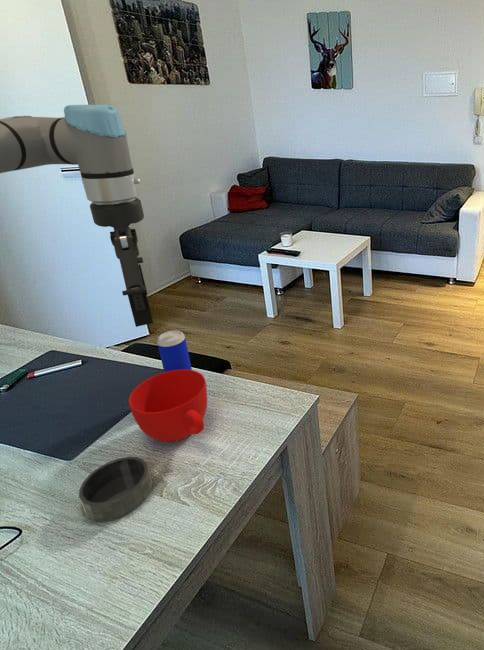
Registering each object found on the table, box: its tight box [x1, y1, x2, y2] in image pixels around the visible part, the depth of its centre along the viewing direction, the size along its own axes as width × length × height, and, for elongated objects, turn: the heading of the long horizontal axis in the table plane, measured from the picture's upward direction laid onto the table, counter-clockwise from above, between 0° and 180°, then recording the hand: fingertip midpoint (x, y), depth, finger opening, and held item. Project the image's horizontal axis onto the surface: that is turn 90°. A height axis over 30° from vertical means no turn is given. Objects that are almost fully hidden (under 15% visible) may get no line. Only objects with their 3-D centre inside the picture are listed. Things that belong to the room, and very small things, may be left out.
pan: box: [78, 456, 153, 523], centre depth 71 cm, size 9×9×4 cm
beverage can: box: [157, 329, 193, 373], centre depth 93 cm, size 5×5×15 cm
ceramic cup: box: [128, 369, 208, 443], centre depth 82 cm, size 13×17×10 cm
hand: (142, 309), depth 83 cm, fingers open, 13 cm apart
